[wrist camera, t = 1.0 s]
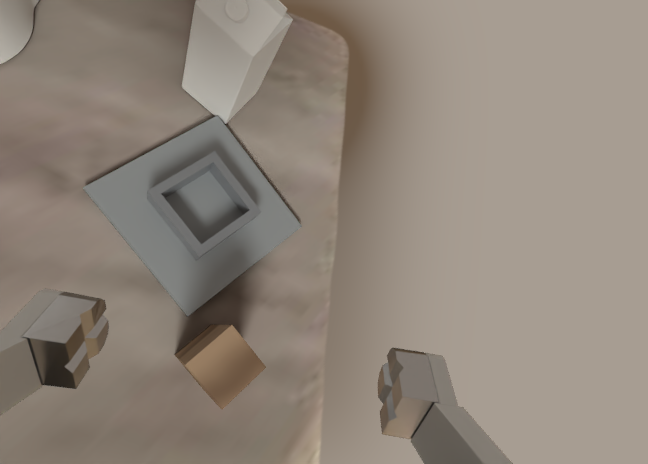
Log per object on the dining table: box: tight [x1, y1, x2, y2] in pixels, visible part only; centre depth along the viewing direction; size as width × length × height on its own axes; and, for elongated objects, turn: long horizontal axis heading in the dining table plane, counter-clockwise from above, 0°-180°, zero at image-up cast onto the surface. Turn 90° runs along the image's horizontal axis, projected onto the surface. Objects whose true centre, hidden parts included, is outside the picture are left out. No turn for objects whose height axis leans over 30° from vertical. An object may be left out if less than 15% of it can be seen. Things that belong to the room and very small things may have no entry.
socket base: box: [83, 115, 302, 316], centre depth 46 cm, size 18×18×4 cm
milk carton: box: [182, 0, 293, 124], centre depth 44 cm, size 7×7×19 cm
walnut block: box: [175, 325, 266, 409], centre depth 40 cm, size 5×5×12 cm
